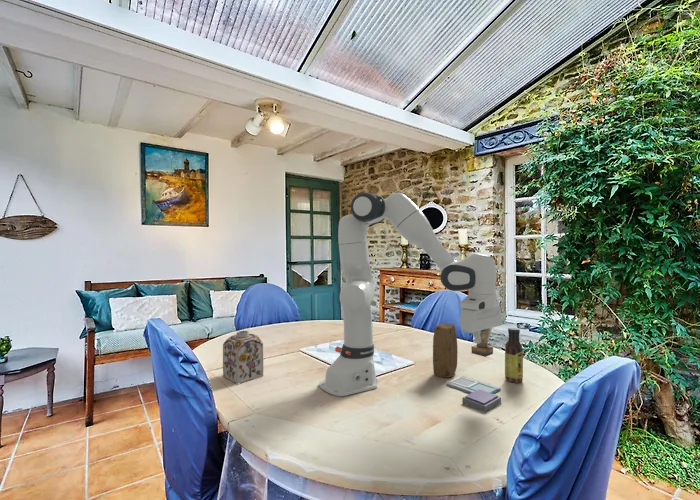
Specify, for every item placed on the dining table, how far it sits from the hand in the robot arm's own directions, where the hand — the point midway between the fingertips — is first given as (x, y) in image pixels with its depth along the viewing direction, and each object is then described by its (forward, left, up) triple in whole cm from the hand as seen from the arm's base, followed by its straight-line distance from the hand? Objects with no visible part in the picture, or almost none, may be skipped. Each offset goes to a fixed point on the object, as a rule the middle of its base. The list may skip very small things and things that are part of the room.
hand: (482, 341), depth 117 cm
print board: (+5, +7, -19) cm, 21 cm away
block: (+9, +21, -19) cm, 30 cm away
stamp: (0, 0, -4) cm, 4 cm away
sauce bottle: (+23, 0, -19) cm, 30 cm away
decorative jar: (-55, +71, -19) cm, 92 cm away
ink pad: (-4, -2, -19) cm, 20 cm away
